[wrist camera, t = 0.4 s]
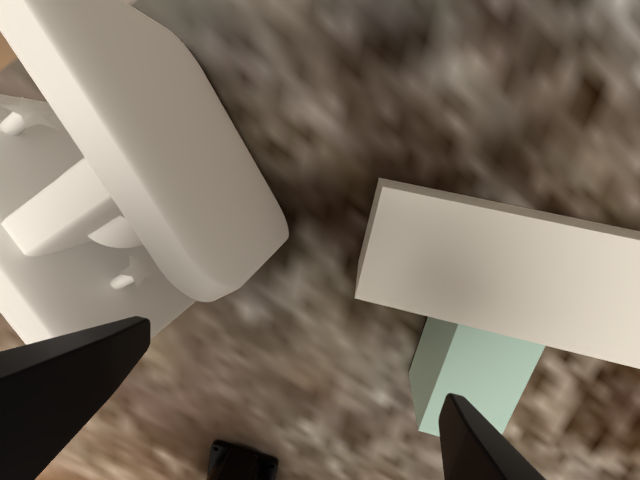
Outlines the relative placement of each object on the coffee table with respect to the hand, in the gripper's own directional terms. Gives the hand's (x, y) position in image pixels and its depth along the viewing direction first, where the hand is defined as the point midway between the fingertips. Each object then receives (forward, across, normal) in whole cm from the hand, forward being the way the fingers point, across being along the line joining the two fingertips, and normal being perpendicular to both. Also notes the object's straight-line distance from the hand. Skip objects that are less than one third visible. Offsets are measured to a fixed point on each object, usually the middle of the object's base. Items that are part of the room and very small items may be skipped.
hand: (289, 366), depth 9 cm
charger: (+13, -10, +4) cm, 17 cm away
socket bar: (+13, -10, -2) cm, 17 cm away
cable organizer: (+14, +11, -2) cm, 18 cm away
